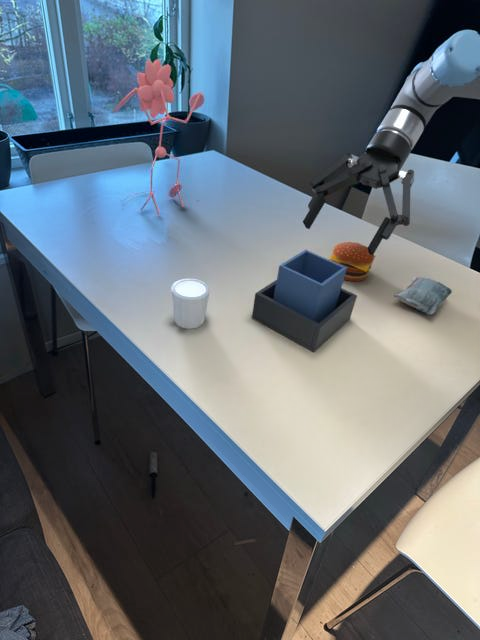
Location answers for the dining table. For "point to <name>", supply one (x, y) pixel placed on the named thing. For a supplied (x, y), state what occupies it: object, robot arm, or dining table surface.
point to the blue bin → (309, 285)
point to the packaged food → (424, 294)
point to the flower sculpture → (159, 108)
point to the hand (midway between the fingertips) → (336, 238)
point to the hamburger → (353, 260)
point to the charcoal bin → (301, 318)
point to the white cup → (190, 302)
